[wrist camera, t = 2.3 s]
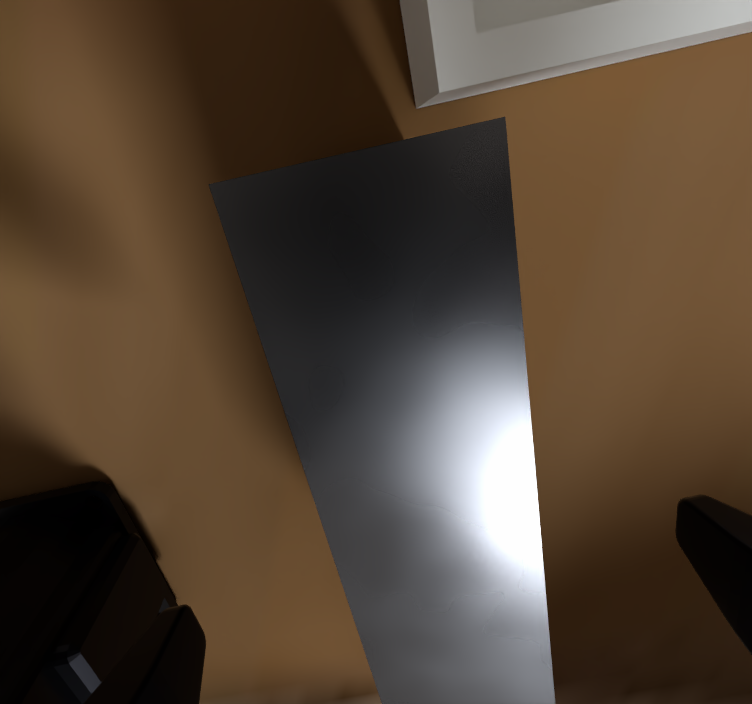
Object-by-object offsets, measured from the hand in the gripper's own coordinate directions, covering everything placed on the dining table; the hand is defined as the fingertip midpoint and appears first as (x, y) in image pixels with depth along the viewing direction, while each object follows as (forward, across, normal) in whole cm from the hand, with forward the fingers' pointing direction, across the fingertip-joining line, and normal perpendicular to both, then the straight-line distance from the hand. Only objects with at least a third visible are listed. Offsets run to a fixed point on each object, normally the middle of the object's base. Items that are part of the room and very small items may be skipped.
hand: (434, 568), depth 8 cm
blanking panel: (+7, 0, 0) cm, 7 cm away
